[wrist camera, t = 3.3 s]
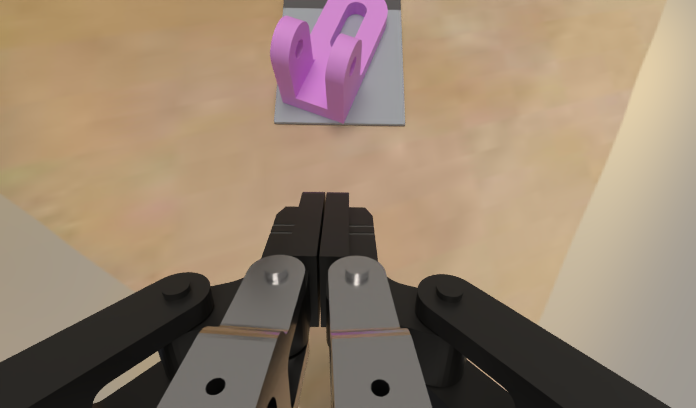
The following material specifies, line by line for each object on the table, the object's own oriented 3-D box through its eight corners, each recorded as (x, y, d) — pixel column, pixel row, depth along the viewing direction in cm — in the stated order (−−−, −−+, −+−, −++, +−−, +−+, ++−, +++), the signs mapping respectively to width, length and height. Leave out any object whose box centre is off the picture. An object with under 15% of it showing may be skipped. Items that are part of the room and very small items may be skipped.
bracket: (343, 123, 31) (343, 70, 24) (282, 102, 31) (266, 44, 24) (394, 8, 34) (406, -66, 28) (338, -9, 35) (337, -86, 28)
